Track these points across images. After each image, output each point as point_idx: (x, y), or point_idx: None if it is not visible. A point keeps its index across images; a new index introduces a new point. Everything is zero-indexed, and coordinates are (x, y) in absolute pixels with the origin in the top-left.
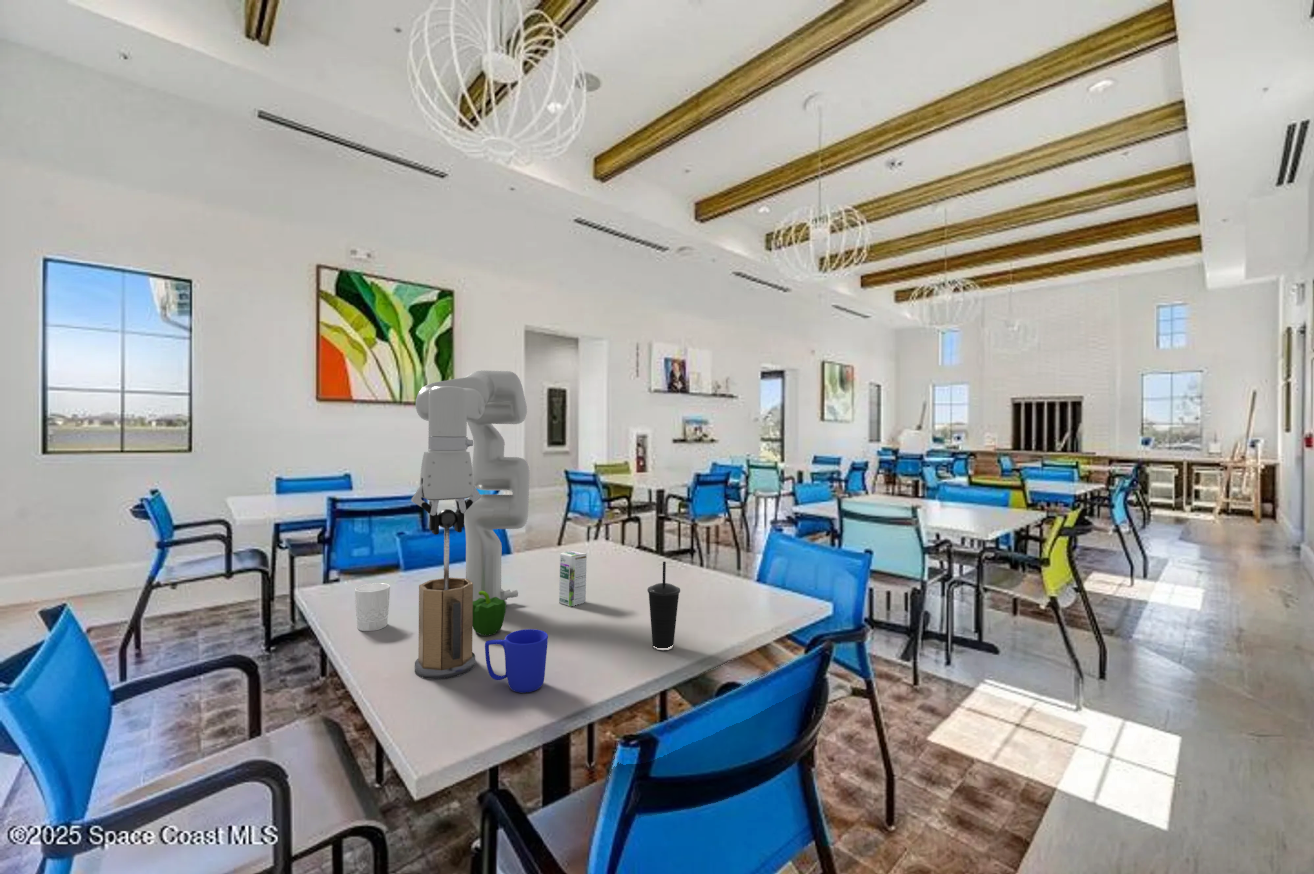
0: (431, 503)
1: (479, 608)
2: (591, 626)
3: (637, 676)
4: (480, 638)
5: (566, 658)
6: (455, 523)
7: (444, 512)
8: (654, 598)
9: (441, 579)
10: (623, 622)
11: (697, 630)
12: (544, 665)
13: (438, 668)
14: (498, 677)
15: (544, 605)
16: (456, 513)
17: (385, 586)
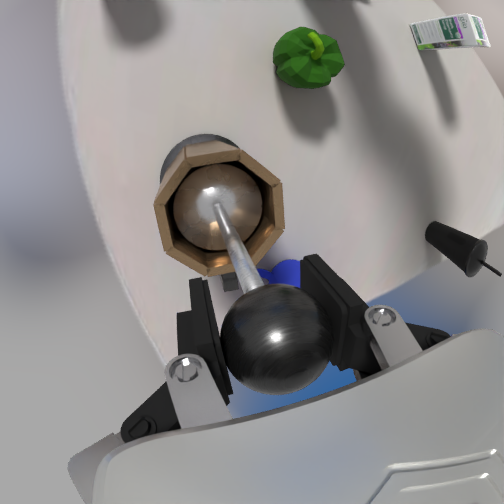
0: (200, 424)
1: (293, 75)
2: (415, 132)
3: (381, 285)
4: (276, 85)
5: (354, 217)
6: (314, 292)
7: (269, 393)
8: (462, 264)
9: (215, 162)
10: (442, 143)
11: (467, 207)
12: None
13: None
14: (261, 276)
15: (391, 17)
16: (338, 342)
17: None
